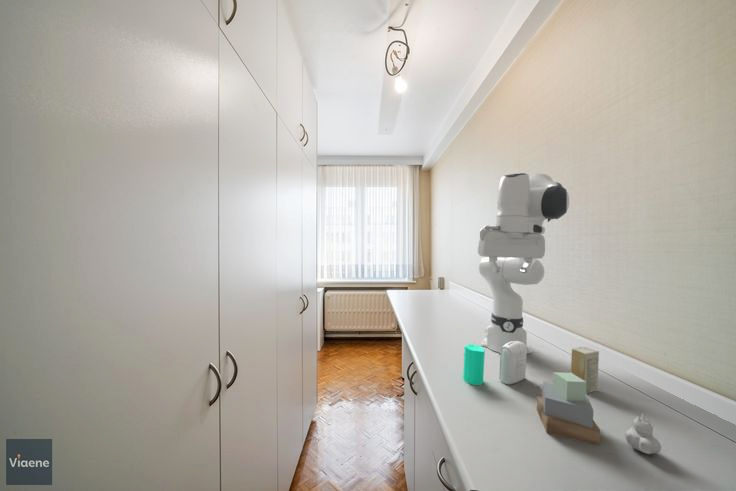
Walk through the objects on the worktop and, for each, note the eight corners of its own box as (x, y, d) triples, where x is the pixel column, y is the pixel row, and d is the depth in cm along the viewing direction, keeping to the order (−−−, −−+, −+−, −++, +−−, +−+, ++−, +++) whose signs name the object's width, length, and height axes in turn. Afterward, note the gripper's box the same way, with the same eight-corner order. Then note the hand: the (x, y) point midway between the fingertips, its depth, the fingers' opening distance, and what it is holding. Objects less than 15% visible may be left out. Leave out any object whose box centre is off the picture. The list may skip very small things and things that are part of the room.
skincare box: (582, 384, 89) (584, 346, 89) (598, 391, 85) (600, 351, 85) (569, 386, 87) (570, 347, 87) (583, 394, 83) (585, 353, 82)
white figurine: (655, 448, 61) (656, 411, 61) (665, 467, 56) (667, 428, 55) (622, 437, 64) (623, 403, 64) (628, 455, 59) (630, 417, 58)
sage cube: (552, 390, 69) (553, 372, 69) (570, 390, 69) (571, 372, 69) (566, 400, 65) (567, 381, 65) (585, 401, 65) (586, 381, 65)
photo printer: (514, 373, 95) (516, 337, 94) (527, 378, 91) (529, 341, 91) (497, 380, 89) (498, 342, 89) (510, 386, 85) (511, 346, 85)
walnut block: (536, 411, 74) (537, 396, 74) (581, 420, 70) (582, 404, 70) (546, 435, 64) (547, 418, 64) (599, 447, 61) (600, 429, 61)
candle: (469, 385, 85) (471, 346, 85) (459, 376, 91) (461, 339, 91) (487, 384, 86) (489, 346, 86) (476, 375, 92) (477, 339, 92)
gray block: (542, 396, 74) (543, 381, 74) (584, 407, 69) (585, 391, 69) (544, 414, 66) (545, 397, 66) (592, 428, 61) (593, 410, 61)
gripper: (486, 224, 79) (484, 273, 79) (549, 228, 82) (547, 274, 82) (474, 225, 85) (472, 270, 85) (533, 229, 89) (531, 272, 89)
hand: (510, 272), depth 84 cm, fingers open, 8 cm apart
